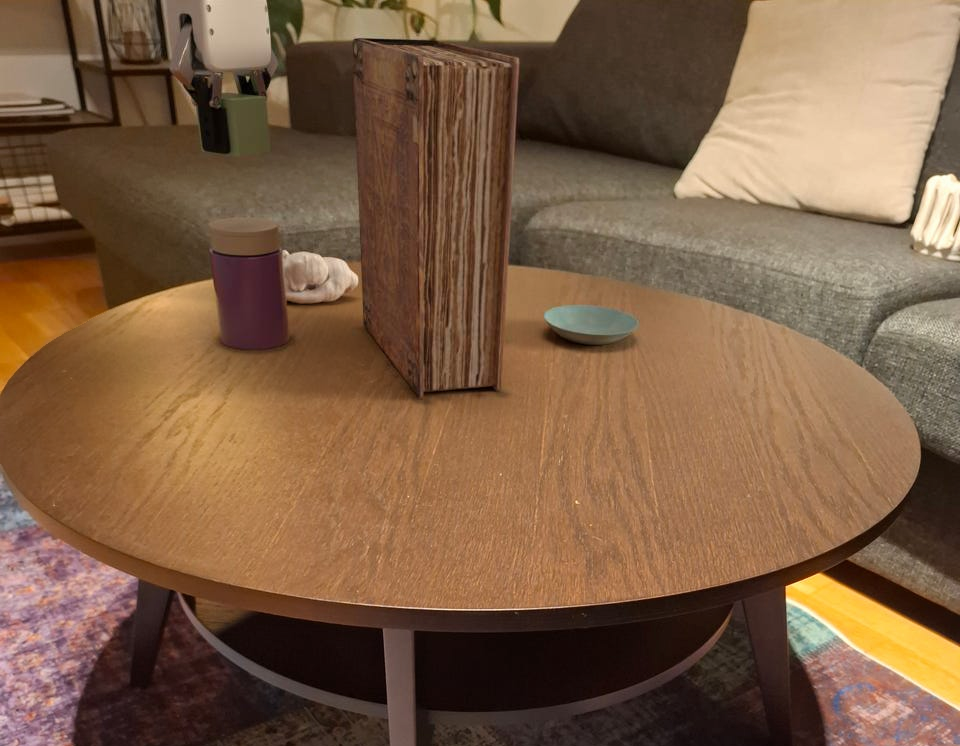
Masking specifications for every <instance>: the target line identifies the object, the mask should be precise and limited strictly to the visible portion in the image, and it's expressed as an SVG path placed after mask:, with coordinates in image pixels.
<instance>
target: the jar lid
mask: <svg viewBox="0 0 960 746" xmlns="http://www.w3.org/2000/svg"><path fill="white" fill-rule="evenodd" d="M208 230H209V231H208V232H209V238H210V239H209V240H210V248H212V249H213V250H214V251H216V252H219V253H223V254H229V255H261V254H267V253H272V252H275V251H277V250H278V249H279V248H280V247H281V243H280V232H279V224H278V223H277V221H274V220H272V219H267V218H262V217H248V216H247V217H246V216H244V217H243V216H242V217H241V216H237V217H225V218H219V219H216V220H212V221H210V222H209V223H208Z"/></svg>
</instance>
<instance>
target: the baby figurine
mask: <svg viewBox="0 0 960 746" xmlns="http://www.w3.org/2000/svg"><path fill="white" fill-rule="evenodd" d="M282 250H283V262H284V274H285V286H286V298H287V302H288V301H289V302H291V303H295V304H303V305H304V304H316V303H321V302H324V303H330V302H334V301H336V300H338V299H339V298H340V297H341V296H343V295H345V294H349V293H350V292H352V291H353V290H354V289H355V288H357V286H358V285H359V277H358V274H356V273H355V272H354V271H352V269H351V268H350V267H349V265H348V264H347V262H346V261H345V260H343V259H341V258H337V257H331V256H324V257H322V255H320V254H318V253H312V252H309V251H298V252H293V253H289V251H287V249H282Z"/></svg>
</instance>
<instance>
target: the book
mask: <svg viewBox="0 0 960 746" xmlns="http://www.w3.org/2000/svg"><path fill="white" fill-rule="evenodd" d="M351 42H352V63H353V64H352V65H353V66H352V67H353V69H352V70H353V90H354V91H353V92H354V93H353V94H354V114H355V115H354V116H355V117H354V118H355V120H354V121H355V143H356V166H357V170H356V171H357V194H358V217H359V218H358V220H359V221H358V222H359V246H360V269H361V270H360V271H361V292H362V293H361V295H362V296H361V297H362V320H363V321H362V322H363V327H364V328H365V329H366V331H367V332H368V333H369V335H370V336H371V337H372V339H373V340H374V342H375V343H376V344H377V345H378V347H379V348H380V349H381V351H382V352H383V353H384V355H385V356H386V358H387V359H388V360H389V361H390V363H391V364H392V366H393V367H394V368H395V370H396V372H398V373H399V375H400V376H401V378H402V379H403V380H404V382H405V383H406V385H408V387H409V388H410V390H411V391H412V392H413V394H414V395H415V396H416V398H417V399H418V400H422V399H423V398H424V393H429V392H439V391H440V392H441V391H451V390H462V389H474V388H485V387H491V388H493V390H494V391H496V392H498V391H501V390H502V379H503V363H504V362H503V361H504V343H505V329H506V328H505V327H506V309H507V308H506V307H507V293H508V292H507V291H508V275H509V274H508V272H509V257H510V254H509V253H510V240H511V239H510V237H511V220H512V219H511V217H512V205H513V204H512V201H513V184H514V183H513V182H514V167H515V148H516V147H515V146H516V129H517V112H518V95H519V78H520V77H519V76H520V75H519V74H520V58H519V57H517V56H511V55H506V54H502V53H498V52H492V51H488V50H483V49H479V48H473V47H467V46H464V45H458V44H453V43H448V42H443V41H439V40H432V39H406V38H405V39H403V38H400V39H399V38H373V37H372V38H371V37H370V38H368V37H355V38H353V40H352V41H351Z"/></svg>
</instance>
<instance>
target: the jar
mask: <svg viewBox="0 0 960 746" xmlns="http://www.w3.org/2000/svg"><path fill="white" fill-rule="evenodd" d="M283 250H284V249H283V247H281V246H280V248H279V249H278V250H277V251H275V252H272V253H267V254H261V255H229V254H223V253H219V252H216V251H214V250H213V249H212V248H211V247H210V248H209V251H208V252H209V258H210V267H211V274H212V282H213V283H212V284H213V290H214V298H215V306H216V315H217V321H218V329H219V330H218V331H219V337H220V341H221V343H222V344H223V345H224V346H227V347H230V348H234V349H239V350H247V351H248V350H249V351H251V350H252V351H256V350H257V351H258V350H259V351H260V350H269V349H274V348H278V347H280V346H284V345H286V344H287V343H288V342H290V339H291V338H290V324H289V313H288V312H289V310H288V300H287V298H286V286H285V274H284V262H283Z"/></svg>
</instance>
